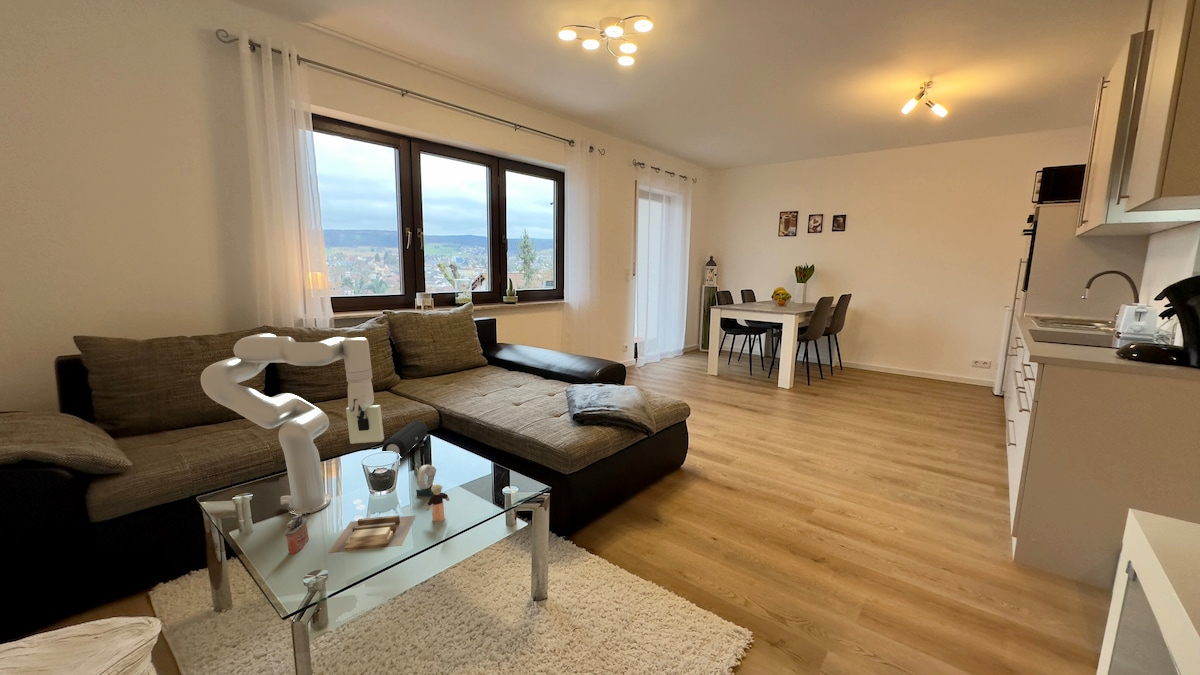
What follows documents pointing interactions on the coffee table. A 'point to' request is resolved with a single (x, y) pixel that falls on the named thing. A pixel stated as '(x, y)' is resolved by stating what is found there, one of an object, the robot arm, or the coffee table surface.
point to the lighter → (296, 534)
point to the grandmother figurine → (437, 502)
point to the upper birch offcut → (370, 534)
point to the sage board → (374, 426)
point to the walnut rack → (395, 523)
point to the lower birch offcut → (368, 542)
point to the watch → (426, 488)
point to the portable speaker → (406, 438)
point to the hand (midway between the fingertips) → (365, 428)
